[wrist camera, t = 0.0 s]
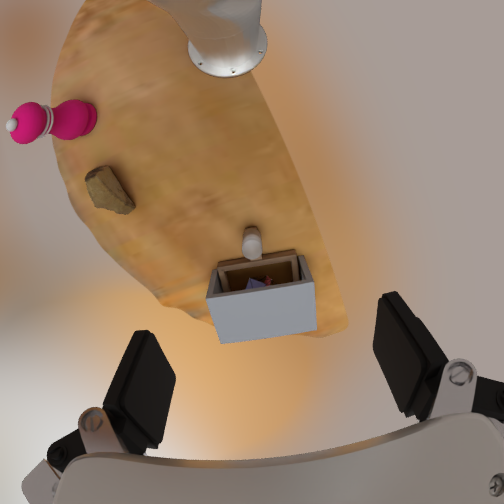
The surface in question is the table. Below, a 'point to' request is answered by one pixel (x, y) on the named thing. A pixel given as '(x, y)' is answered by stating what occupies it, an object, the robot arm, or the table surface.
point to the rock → (107, 191)
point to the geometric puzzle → (258, 283)
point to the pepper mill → (51, 121)
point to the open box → (263, 308)
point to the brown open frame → (255, 258)
